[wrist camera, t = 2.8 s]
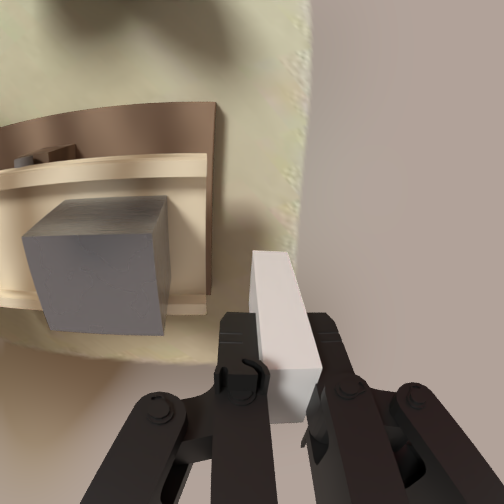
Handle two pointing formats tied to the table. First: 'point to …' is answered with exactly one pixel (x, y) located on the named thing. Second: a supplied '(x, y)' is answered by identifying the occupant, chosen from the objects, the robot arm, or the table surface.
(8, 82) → the table surface
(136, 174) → the balance beam
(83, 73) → the table surface
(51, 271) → the block
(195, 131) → the stand
